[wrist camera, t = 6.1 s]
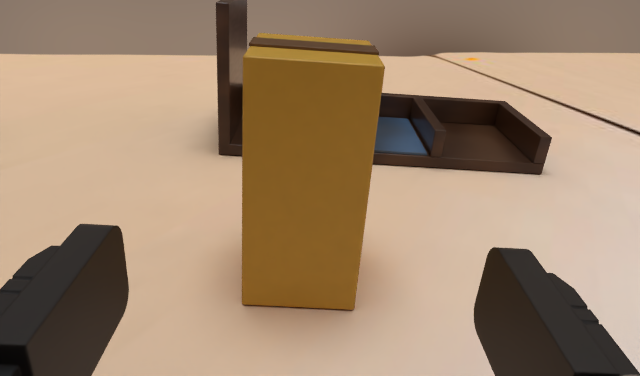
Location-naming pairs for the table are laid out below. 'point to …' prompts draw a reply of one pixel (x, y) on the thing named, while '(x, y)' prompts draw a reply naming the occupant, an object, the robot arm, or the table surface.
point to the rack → (397, 118)
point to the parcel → (306, 167)
